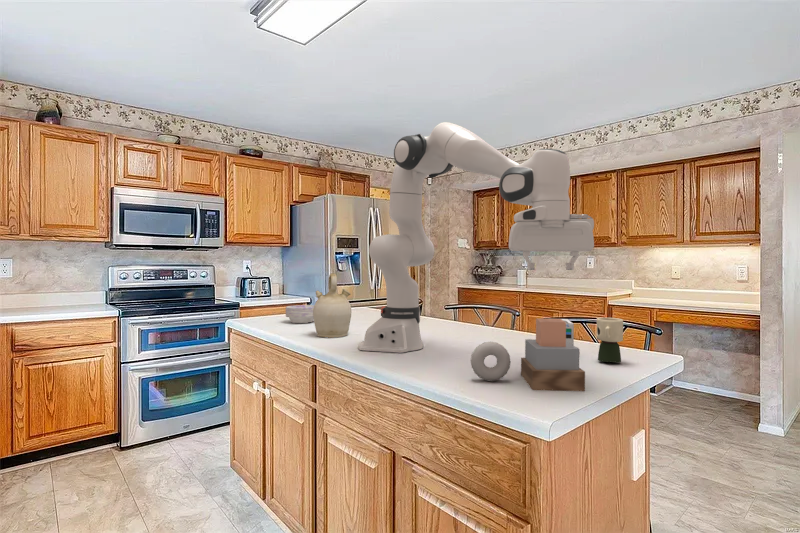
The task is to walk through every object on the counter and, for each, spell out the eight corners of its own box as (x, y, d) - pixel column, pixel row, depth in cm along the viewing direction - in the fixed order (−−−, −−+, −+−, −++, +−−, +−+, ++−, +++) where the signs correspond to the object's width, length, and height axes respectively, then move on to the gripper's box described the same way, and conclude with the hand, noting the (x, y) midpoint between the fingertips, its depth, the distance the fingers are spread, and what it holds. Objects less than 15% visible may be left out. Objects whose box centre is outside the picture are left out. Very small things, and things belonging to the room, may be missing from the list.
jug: (352, 331, 188) (352, 272, 187) (350, 338, 172) (349, 273, 172) (316, 332, 187) (315, 272, 187) (310, 338, 172) (309, 273, 171)
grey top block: (536, 369, 107) (536, 348, 107) (525, 358, 119) (525, 339, 119) (579, 370, 106) (579, 349, 106) (563, 358, 118) (563, 339, 118)
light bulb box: (574, 357, 140) (574, 323, 140) (551, 356, 141) (551, 322, 141) (568, 350, 151) (568, 318, 150) (547, 349, 152) (547, 318, 152)
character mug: (599, 357, 140) (599, 316, 139) (624, 360, 136) (625, 317, 136) (593, 364, 131) (593, 320, 130) (620, 367, 127) (620, 322, 126)
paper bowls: (302, 319, 226) (302, 303, 226) (324, 321, 217) (324, 305, 217) (278, 322, 214) (278, 306, 214) (300, 325, 205) (300, 308, 205)
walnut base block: (532, 391, 106) (532, 370, 106) (521, 376, 120) (521, 357, 119) (584, 393, 105) (585, 371, 105) (567, 377, 119) (567, 358, 119)
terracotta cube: (540, 346, 109) (540, 321, 109) (535, 341, 115) (535, 318, 115) (565, 346, 109) (565, 322, 109) (559, 342, 115) (560, 318, 115)
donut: (471, 382, 112) (471, 342, 112) (469, 378, 115) (470, 340, 115) (511, 383, 111) (512, 343, 111) (509, 379, 115) (509, 340, 115)
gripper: (589, 215, 114) (589, 269, 114) (507, 215, 115) (507, 269, 116) (598, 212, 107) (597, 270, 108) (511, 213, 109) (511, 270, 109)
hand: (550, 269), depth 112 cm, fingers open, 8 cm apart
